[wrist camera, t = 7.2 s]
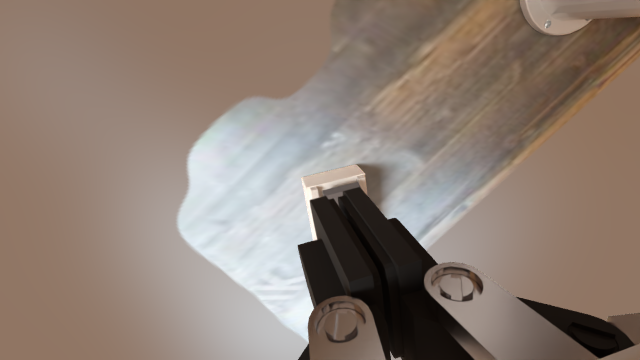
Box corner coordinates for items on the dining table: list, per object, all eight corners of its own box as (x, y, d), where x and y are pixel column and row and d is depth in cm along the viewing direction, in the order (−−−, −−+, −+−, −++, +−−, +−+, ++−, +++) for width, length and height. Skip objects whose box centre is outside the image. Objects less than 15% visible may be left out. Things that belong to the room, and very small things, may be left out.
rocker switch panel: (301, 177, 39) (308, 190, 36) (356, 164, 40) (367, 176, 37) (318, 268, 45) (325, 287, 41) (365, 254, 46) (376, 272, 42)
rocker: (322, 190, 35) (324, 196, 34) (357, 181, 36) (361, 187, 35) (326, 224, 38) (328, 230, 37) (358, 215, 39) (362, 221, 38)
